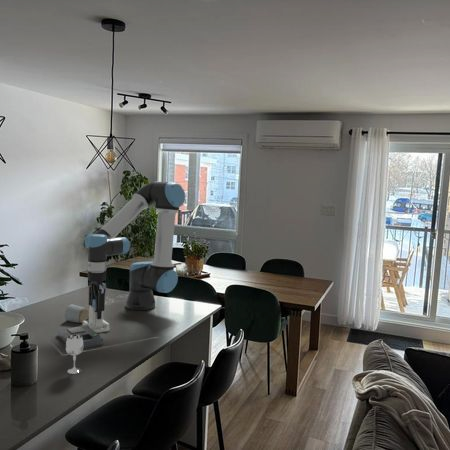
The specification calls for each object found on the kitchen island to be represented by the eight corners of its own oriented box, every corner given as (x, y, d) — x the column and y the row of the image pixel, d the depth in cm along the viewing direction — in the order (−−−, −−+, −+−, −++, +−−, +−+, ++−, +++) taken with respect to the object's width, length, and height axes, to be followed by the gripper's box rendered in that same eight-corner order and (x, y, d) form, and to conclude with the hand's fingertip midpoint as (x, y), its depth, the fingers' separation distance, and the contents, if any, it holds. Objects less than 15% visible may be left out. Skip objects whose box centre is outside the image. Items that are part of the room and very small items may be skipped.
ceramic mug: (79, 325, 199) (80, 308, 198) (64, 323, 201) (64, 306, 201) (93, 319, 209) (94, 303, 208) (78, 317, 211) (79, 301, 211)
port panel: (86, 332, 192) (86, 324, 191) (102, 345, 177) (103, 337, 177) (57, 336, 185) (57, 328, 184) (72, 351, 170) (72, 342, 170)
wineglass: (67, 367, 156) (68, 333, 155) (84, 367, 157) (85, 334, 156) (63, 374, 151) (63, 339, 149) (80, 374, 151) (81, 340, 150)
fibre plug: (98, 326, 197) (99, 297, 196) (102, 329, 194) (103, 300, 192) (88, 328, 195) (89, 299, 193) (92, 331, 191) (93, 301, 190)
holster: (101, 325, 200) (101, 318, 200) (109, 332, 193) (109, 323, 193) (82, 328, 195) (82, 320, 195) (90, 335, 188) (90, 326, 188)
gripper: (81, 267, 196) (80, 319, 199) (96, 275, 182) (95, 331, 185) (97, 266, 201) (96, 317, 203) (113, 274, 187) (112, 328, 189)
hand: (95, 324), depth 194 cm, fingers closed on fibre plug, 4 cm apart
